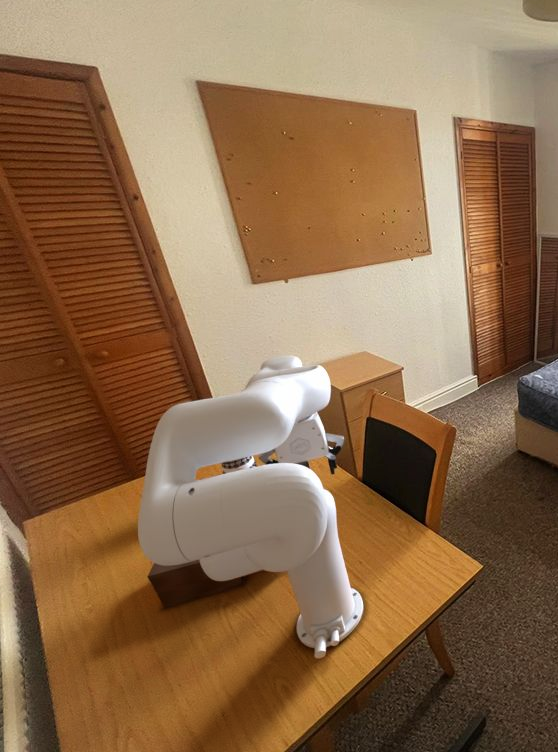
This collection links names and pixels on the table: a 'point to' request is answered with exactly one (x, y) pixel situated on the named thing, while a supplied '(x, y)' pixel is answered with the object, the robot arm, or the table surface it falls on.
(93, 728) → the table surface
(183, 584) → the cabinet
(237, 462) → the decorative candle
